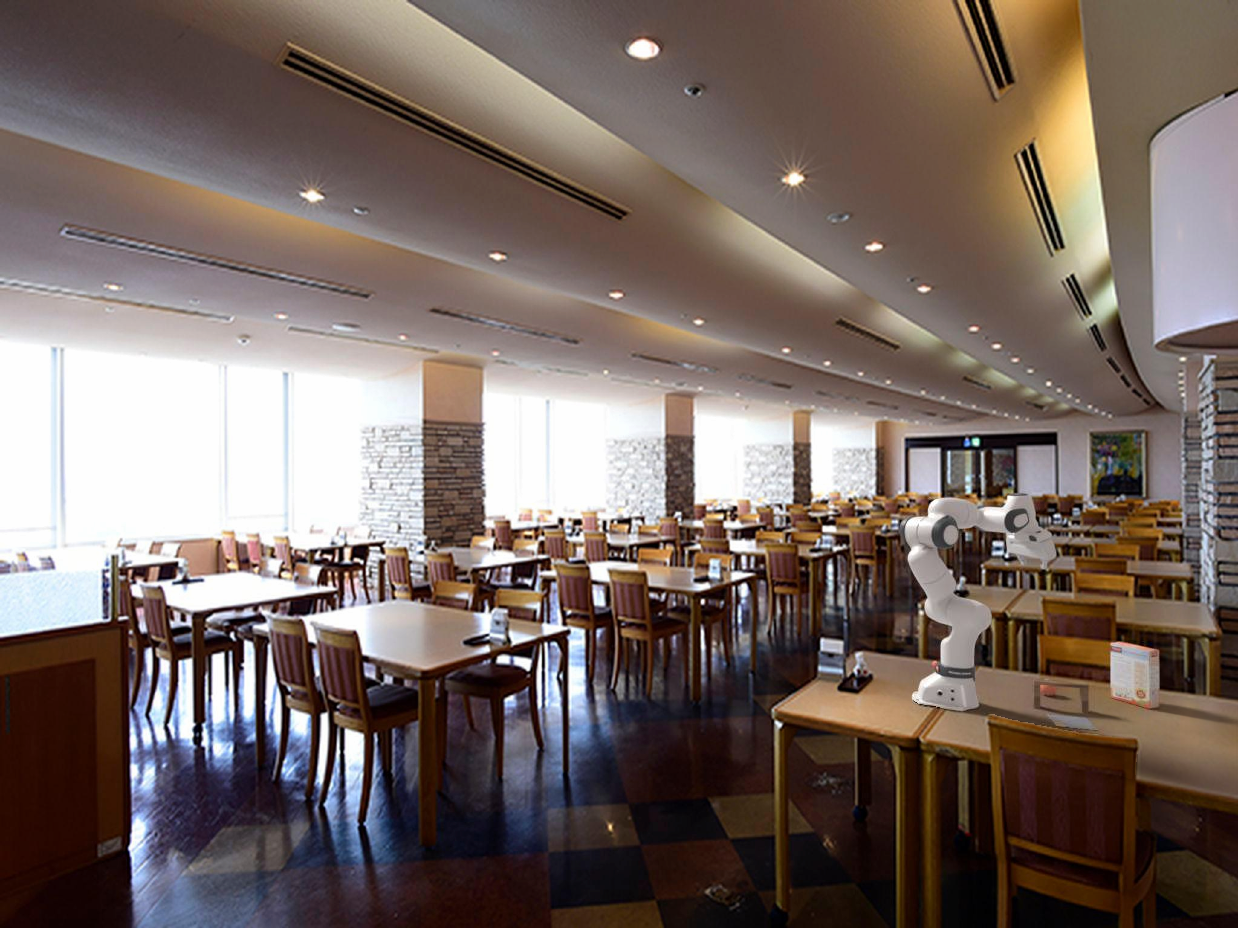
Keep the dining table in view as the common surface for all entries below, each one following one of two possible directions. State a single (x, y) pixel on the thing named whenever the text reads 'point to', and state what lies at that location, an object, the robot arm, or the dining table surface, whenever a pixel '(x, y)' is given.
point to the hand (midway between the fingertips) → (1034, 566)
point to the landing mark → (1072, 721)
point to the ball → (1048, 689)
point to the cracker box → (1135, 674)
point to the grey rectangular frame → (1082, 686)
